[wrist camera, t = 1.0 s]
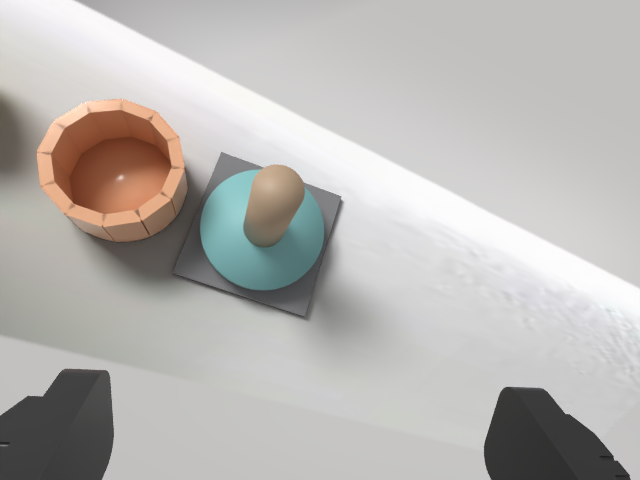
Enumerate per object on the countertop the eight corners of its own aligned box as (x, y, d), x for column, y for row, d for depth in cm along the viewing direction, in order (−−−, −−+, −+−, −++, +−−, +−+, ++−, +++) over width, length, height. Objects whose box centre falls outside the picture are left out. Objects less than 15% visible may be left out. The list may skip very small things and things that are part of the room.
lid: (182, 268, 32) (169, 236, 24) (225, 159, 35) (228, 93, 26) (300, 307, 34) (331, 291, 25) (333, 199, 36) (372, 149, 27)
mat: (173, 273, 33) (172, 272, 32) (221, 154, 36) (221, 152, 35) (303, 316, 34) (304, 316, 34) (340, 198, 37) (341, 196, 36)
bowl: (39, 217, 32) (12, 196, 27) (92, 114, 34) (75, 80, 30) (160, 258, 33) (152, 243, 28) (203, 155, 35) (201, 128, 31)
